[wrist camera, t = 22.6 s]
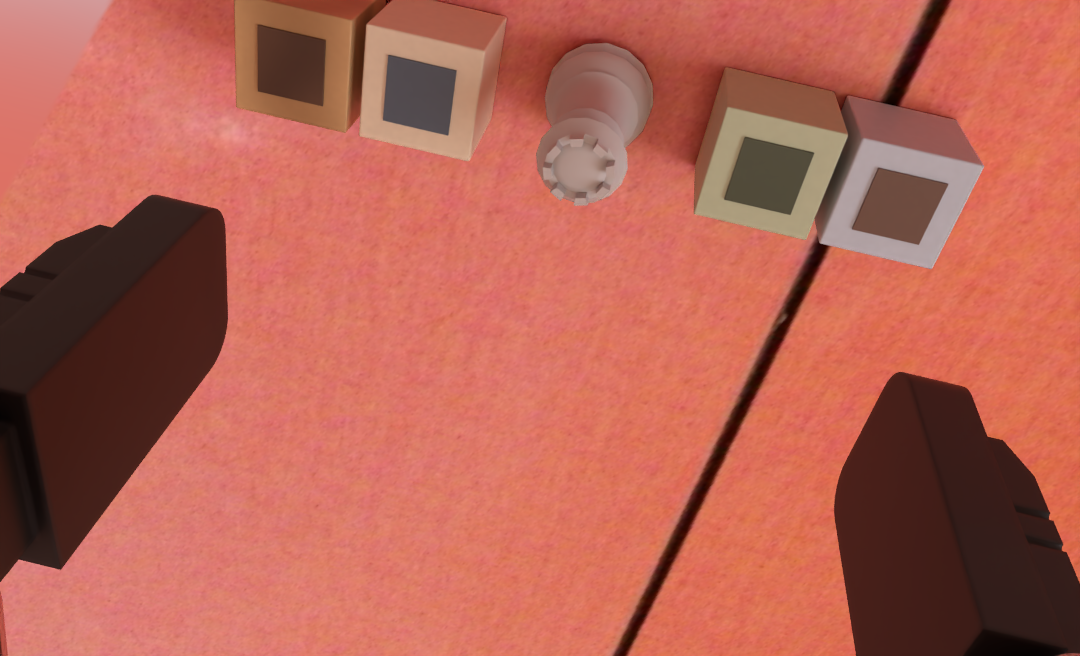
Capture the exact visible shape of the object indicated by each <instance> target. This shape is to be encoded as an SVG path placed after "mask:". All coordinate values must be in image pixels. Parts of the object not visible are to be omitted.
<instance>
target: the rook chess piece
mask: <svg viewBox="0 0 1080 656" xmlns="http://www.w3.org/2000/svg"><path fill="white" fill-rule="evenodd" d="M545 104H546V115H547V118H548V120H549V122H550V124H551V126H552V127H551V128H550V130H549V131H548V132H547V133H546V134H545V135H544V136H543V137H542V138H541V141H540V144H539V147H538V150H537V153H536V158H537V168H538V172H539V174H540V176H541V178H542V180H543V181H544V183H545V185H546V186H547V187H548V188H549V189H550V190H551V191H550V192H551V193H552V194H553V195H554V196H556V197H557V198H558V199H559V200H560V201H561V200H562V198H563V199H566V200H569V201H572V202H574V206H575V205H588V203H594V202H596V201H599V200H601V199H603V198H606V197H608V196H610V195H611V194H612V193H613V192H614V191H615V190H616V189H617V188H618V187H619V186H620V185H621V184H622V181H623V179H624V177H625V174H626V172H627V169H628V168H627V151H626V149H625V147H627V146H628V145H629V144H630V143H631V142H632V141H633V140H634V139H635V138H636V137H637V136H638V135H639V134H640V133H641V132H642V131H643V129H644V127H645V124H646V122H647V119H648V117H649V115H650V111H651V109H652V106H653V84H652V82H651V80H650V78H649V75H648V73H647V71H646V69H645V67H644V65H643V64H642V63H641V62H640V61H639V60H638V59H637V58H636V57H634V56H633V55H632V54H631V53H630V52H629V51H628V50H625V49H622V48H620V47H617V46H614V45H611V44H609V43H597V44H585V45H582V46H580V47H578V48H576V49H574V50H572V51H570V52H568V53H566V54H565V55H564V56H563V58H562V59H561V60H560V61H559V62H558V63H557V64H556V65H555V67H554V68H553V69H552V72H551V75H550V78H549V81H548V84H547V87H546V94H545Z"/></svg>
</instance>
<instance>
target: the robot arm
mask: <svg viewBox="0 0 1080 656" xmlns="http://www.w3.org/2000/svg"><path fill="white" fill-rule="evenodd" d="M227 321H228V305H227V270H226V234H225V223H224V218H223V216H222V214H221V212H220V211H219V210H218V209H215V208H211V207H207V206H202V205H198V204H194V203H190V202H185V201H181V200H177V199H173V198H168V197H164V196H160V195H151V196H149V197H147V198H146V199H144V200H143V201H142V202H141V203H140V204H139V205H138V206H136V207H135V208H134V209H133V210H132V211H131V212H130V213H129V214H127V215H126V216H125V217H124V218H123V219H122V220H121V221H119V222H118V223H117V224H116V225H115V226H114V227H113V228H111V227H107V226H103V225H97V226H95V227H93V228H90V229H88V230H85V231H83V232H80V233H78V234H75V235H73V236H70V237H68V238H65V239H63V240H60V241H58V242H56V243H54V244H53V245H52V246H51V247H50V248H48V249H47V250H46V251H45V252H44V253H42V254H41V255H40V256H39V257H38V258H36V259H35V260H34V261H33V262H31V263H30V264H29V265H28V266H27V267H26V270H25V272H24V273H20V272H19V273H18V274H17V275H16V276H14V277H13V278H12V279H11V280H10V281H8V282H7V283H6V284H5V285H4V286H2V287H1V288H0V582H1V581H2V579H3V578H4V577H5V576H6V574H7V573H8V572H9V571H10V569H11V568H12V567H13V566H14V564H15V563H16V562H17V561H18V559H19V560H23V561H28V562H32V563H36V564H40V565H44V566H48V567H52V568H56V569H60V570H61V569H62V567H63V566H64V565H65V563H66V562H67V561H68V559H69V558H70V557H71V555H72V554H73V553H74V551H75V550H76V549H77V547H78V546H79V545H80V543H81V542H82V541H83V539H84V538H85V537H86V535H87V534H88V533H89V531H90V530H91V529H92V527H93V526H94V525H95V523H96V522H97V521H98V519H99V518H100V517H101V515H102V514H103V513H104V511H105V510H106V509H107V507H108V506H109V505H110V503H111V502H112V501H113V499H114V498H115V497H116V495H117V494H118V493H119V491H120V490H121V489H122V487H123V486H124V485H125V483H126V482H127V481H128V479H129V478H130V477H131V475H132V474H133V473H134V471H135V470H136V468H137V467H138V466H139V464H140V463H141V462H142V460H143V459H144V458H145V456H146V455H147V454H148V452H149V451H150V450H151V448H152V447H153V446H154V444H155V443H156V442H157V440H158V439H159V438H160V436H161V435H162V434H163V432H164V431H165V430H166V428H167V427H168V426H169V424H170V423H171V422H172V420H173V419H174V418H175V416H176V415H177V414H178V412H179V411H180V410H181V408H182V407H183V406H184V404H185V403H186V402H187V400H188V399H189V398H190V396H191V395H192V394H193V392H194V391H195V390H196V388H197V387H198V386H199V384H200V383H201V382H202V380H203V379H204V378H205V376H206V375H207V374H208V372H209V371H210V369H211V368H212V367H213V365H214V364H215V362H216V360H217V358H218V356H219V353H220V351H221V348H222V345H223V342H224V339H225V334H226V329H227ZM834 515H835V523H836V529H837V536H838V542H839V549H840V555H841V561H842V568H843V574H844V581H845V587H846V593H847V600H848V606H849V612H850V619H851V625H852V632H853V638H854V644H855V651H856V656H1080V583H1079V581H1078V578H1077V576H1076V573H1075V571H1074V569H1073V566H1072V564H1071V562H1070V559H1069V557H1068V555H1067V552H1063V551H1062V545H1063V543H1062V540H1061V538H1060V536H1059V533H1058V531H1057V529H1056V526H1055V524H1054V522H1053V521H1051V520H1049V515H1050V512H1049V510H1048V507H1047V505H1046V503H1045V500H1044V498H1043V496H1042V493H1041V491H1040V489H1039V486H1038V484H1037V481H1036V479H1035V477H1034V475H1033V474H1032V473H1031V472H1030V471H1029V470H1028V469H1027V467H1026V466H1025V465H1024V464H1023V463H1022V462H1021V461H1020V459H1019V458H1018V457H1017V456H1016V455H1015V454H1014V453H1013V451H1012V450H1011V449H1010V448H1009V447H1008V446H1007V445H1006V443H1005V442H1004V441H1003V440H999V439H995V438H991V437H987V434H986V432H985V429H984V427H983V424H982V421H981V419H980V416H979V413H978V411H977V408H976V406H975V403H974V400H973V398H972V395H971V393H970V392H969V390H968V389H967V388H965V387H963V386H959V385H955V384H950V383H946V382H942V381H938V380H933V379H929V378H925V377H921V376H916V375H912V374H908V373H904V372H898V373H896V374H894V375H893V376H892V377H891V378H890V379H889V381H888V382H887V384H886V385H885V387H884V389H883V391H882V393H881V395H880V396H879V398H878V400H877V402H876V404H875V406H874V408H873V410H872V412H871V414H870V416H869V418H868V420H867V422H866V423H865V425H864V427H863V429H862V431H861V433H860V435H859V437H858V439H857V441H856V443H855V445H854V447H853V448H852V450H851V452H850V454H849V456H848V458H847V460H846V462H845V464H844V466H843V468H842V471H841V474H840V477H839V480H838V484H837V489H836V494H835V504H834ZM0 656H8V652H7V642H6V632H5V622H4V612H3V602H2V596H1V592H0Z"/></svg>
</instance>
